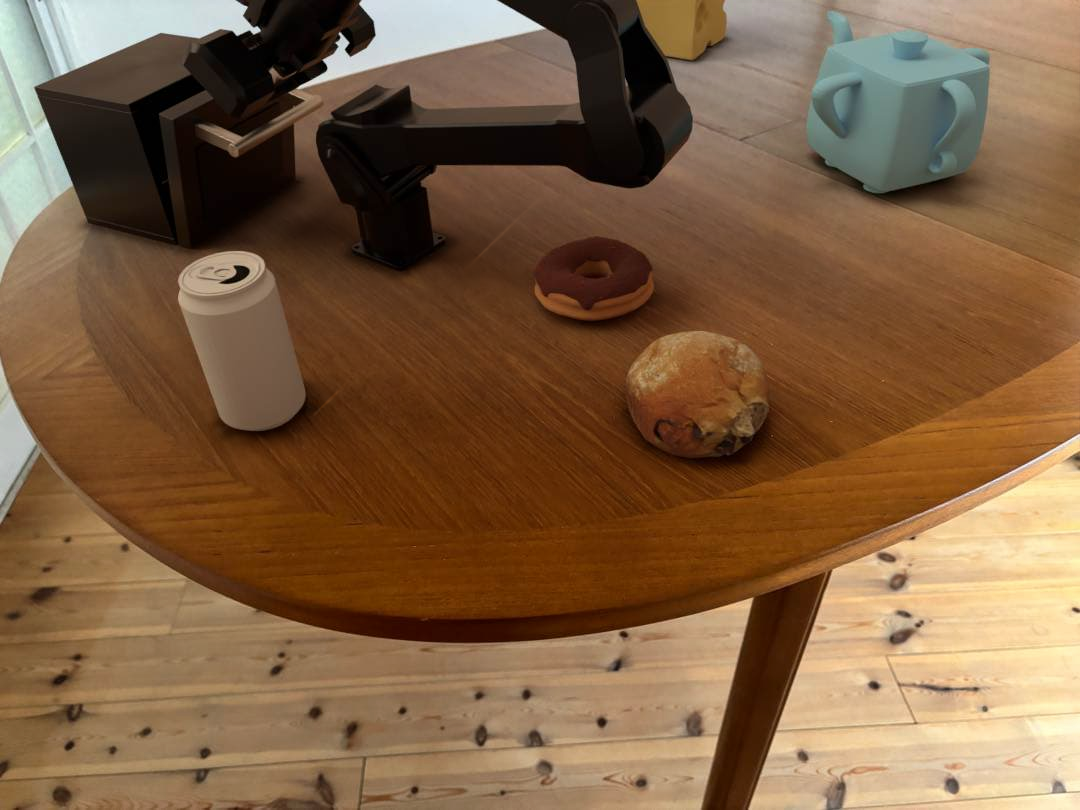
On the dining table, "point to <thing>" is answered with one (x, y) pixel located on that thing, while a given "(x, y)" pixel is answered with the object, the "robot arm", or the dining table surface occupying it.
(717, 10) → the cheese
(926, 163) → the teapot
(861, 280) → the dining table surface
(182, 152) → the oven door
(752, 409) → the bread roll
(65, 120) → the oven
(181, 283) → the beverage can
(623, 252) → the donut
